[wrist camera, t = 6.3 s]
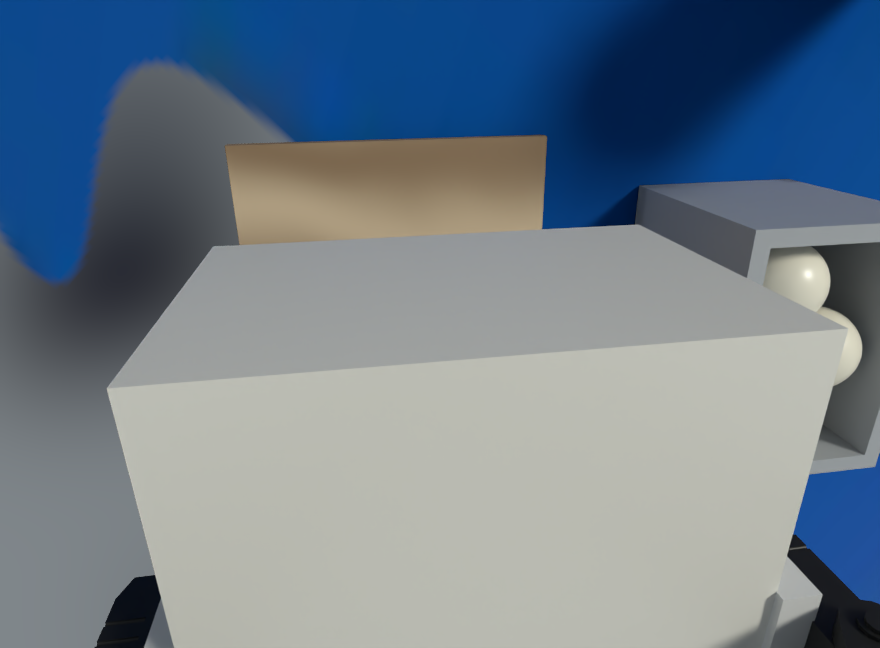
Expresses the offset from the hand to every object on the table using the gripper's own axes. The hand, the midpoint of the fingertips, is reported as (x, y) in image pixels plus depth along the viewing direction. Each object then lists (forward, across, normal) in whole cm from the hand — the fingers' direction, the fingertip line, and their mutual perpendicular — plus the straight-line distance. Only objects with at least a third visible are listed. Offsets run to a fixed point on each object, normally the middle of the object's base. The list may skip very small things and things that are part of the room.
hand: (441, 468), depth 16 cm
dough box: (+14, +16, -1) cm, 22 cm away
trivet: (+14, 0, 0) cm, 14 cm away
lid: (0, 0, 0) cm, 0 cm away
